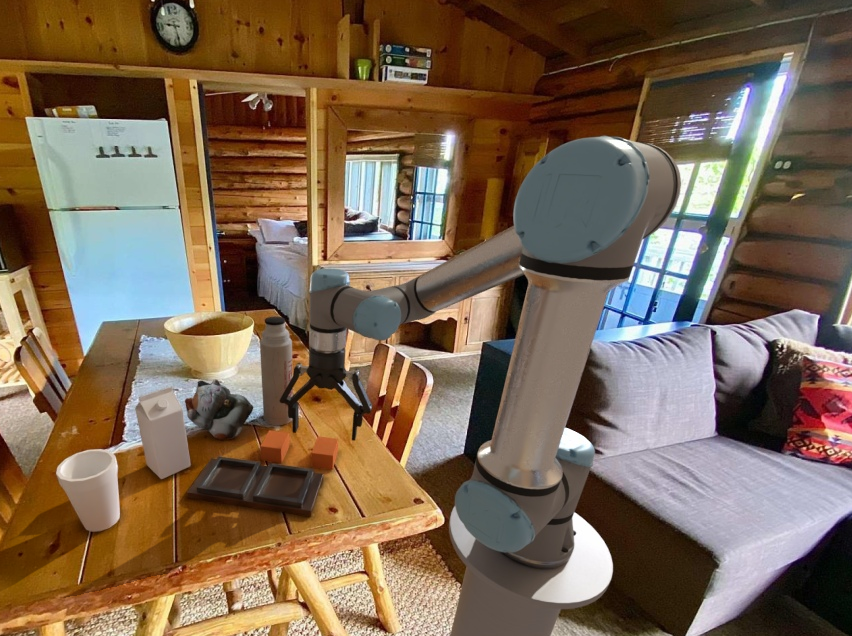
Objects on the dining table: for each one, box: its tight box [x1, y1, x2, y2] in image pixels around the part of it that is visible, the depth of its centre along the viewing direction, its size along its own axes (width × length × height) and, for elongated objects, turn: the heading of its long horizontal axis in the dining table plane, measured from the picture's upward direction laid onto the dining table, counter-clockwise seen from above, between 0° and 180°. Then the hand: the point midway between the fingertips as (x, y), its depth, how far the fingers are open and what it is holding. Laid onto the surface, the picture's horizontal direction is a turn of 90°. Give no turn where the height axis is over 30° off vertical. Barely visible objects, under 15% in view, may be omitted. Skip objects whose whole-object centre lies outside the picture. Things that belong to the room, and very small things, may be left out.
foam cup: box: [55, 448, 121, 533], centre depth 81 cm, size 10×9×13 cm
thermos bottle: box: [259, 316, 294, 426], centre depth 113 cm, size 8×8×28 cm
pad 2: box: [310, 435, 339, 471], centre depth 102 cm, size 5×7×4 cm
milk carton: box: [134, 386, 192, 480], centre depth 95 cm, size 7×7×19 cm
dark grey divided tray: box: [186, 455, 324, 517], centre depth 93 cm, size 26×12×3 cm, turn 80°
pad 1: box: [259, 429, 290, 464], centre depth 104 cm, size 5×7×4 cm
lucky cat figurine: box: [184, 378, 254, 441], centre depth 112 cm, size 15×12×14 cm
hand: (324, 433), depth 100 cm, fingers open, 13 cm apart
